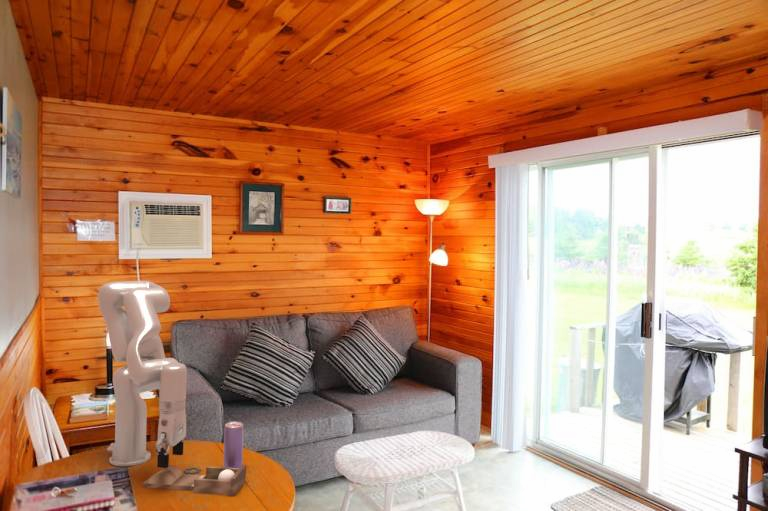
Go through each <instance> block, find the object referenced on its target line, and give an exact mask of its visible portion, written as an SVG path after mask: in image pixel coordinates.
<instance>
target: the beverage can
mask: <svg viewBox="0 0 768 511" xmlns="http://www.w3.org/2000/svg"><path fill="white" fill-rule="evenodd" d="M243 464H244V424H243V422H241V421H229V422H226V423H225V424H224V428H223V463H222V466H223V467H226V468H240V467H241V466H242V465H243Z"/></svg>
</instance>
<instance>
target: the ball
mask: <svg viewBox="0 0 768 511" xmlns="http://www.w3.org/2000/svg"><path fill="white" fill-rule="evenodd" d="M233 475H234V472H233V471H232V470H229V469H227V470H223V471H222V472H221V473H220V474H219V477H218V480H231V478H232V477H233Z"/></svg>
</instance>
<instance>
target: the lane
mask: <svg viewBox="0 0 768 511" xmlns="http://www.w3.org/2000/svg"><path fill="white" fill-rule="evenodd" d="M227 469H229V470H232V471H233V472H234V475H233V477H232V478H231V480H218V477H219V474H220V473H221V472H222V471H223V470H227ZM246 477H247V465H242V466H241V467H240V468H226V467H222V466H210V465H209V466H206V468H205V475H203V474H201V475H200V474H192V475H191V474H186V473H184V472H182V470H181V469H180V468H179V467H177V466H175V465H169V466H168V468H161V469H160V470H159V471H157V472H154V473H153V474H152V475H150V476H149V477H148V478H147V479H146V480H145V481H144V482H142V488H143V489H144V488H145V489H159V490H161V489H162V490H174V491H191V492H193V493H195V494H208V495H210V494H211V495H212V494H213V495H226V496H229V497H231V496H232V497H234V496H236V495H237V493H238V492H239V491H240V490H241V489H242V487H243V486H244V484H245V483H246V480H247V478H246Z"/></svg>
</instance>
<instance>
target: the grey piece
mask: <svg viewBox="0 0 768 511" xmlns="http://www.w3.org/2000/svg"><path fill="white" fill-rule="evenodd" d="M193 470H194V471H193ZM201 471H202V469H201V468H200V467H198V466H197V467H194V466H191V467H187V468H185V469H184V470H183V473H184V474H189V475H197V474H200V472H201Z"/></svg>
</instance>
